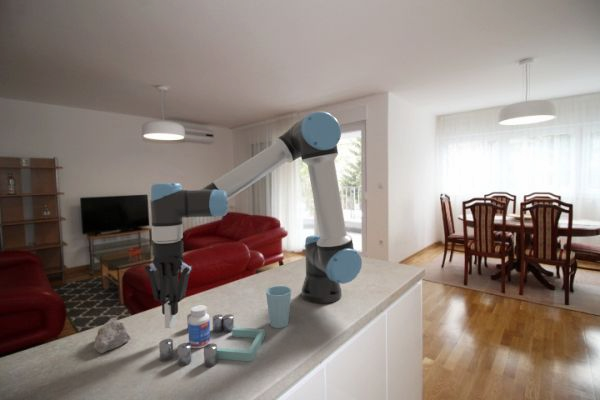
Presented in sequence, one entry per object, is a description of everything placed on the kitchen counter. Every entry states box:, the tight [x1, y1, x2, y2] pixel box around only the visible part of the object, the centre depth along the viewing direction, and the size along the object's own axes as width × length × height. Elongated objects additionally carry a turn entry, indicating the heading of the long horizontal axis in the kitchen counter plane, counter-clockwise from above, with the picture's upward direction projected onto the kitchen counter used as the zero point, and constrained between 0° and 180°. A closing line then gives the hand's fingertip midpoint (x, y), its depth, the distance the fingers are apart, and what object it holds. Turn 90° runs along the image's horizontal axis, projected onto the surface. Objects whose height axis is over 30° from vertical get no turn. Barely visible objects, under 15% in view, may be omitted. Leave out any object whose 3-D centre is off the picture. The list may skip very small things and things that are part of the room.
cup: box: [265, 285, 292, 329], centre depth 85 cm, size 8×8×10 cm
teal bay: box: [217, 326, 266, 362], centre depth 74 cm, size 9×11×2 cm
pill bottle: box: [187, 304, 211, 349], centre depth 75 cm, size 6×5×10 cm
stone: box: [93, 316, 132, 354], centre depth 76 cm, size 8×10×6 cm
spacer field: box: [158, 313, 235, 368], centre depth 75 cm, size 16×18×4 cm
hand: (170, 325), depth 76 cm, fingers closed
